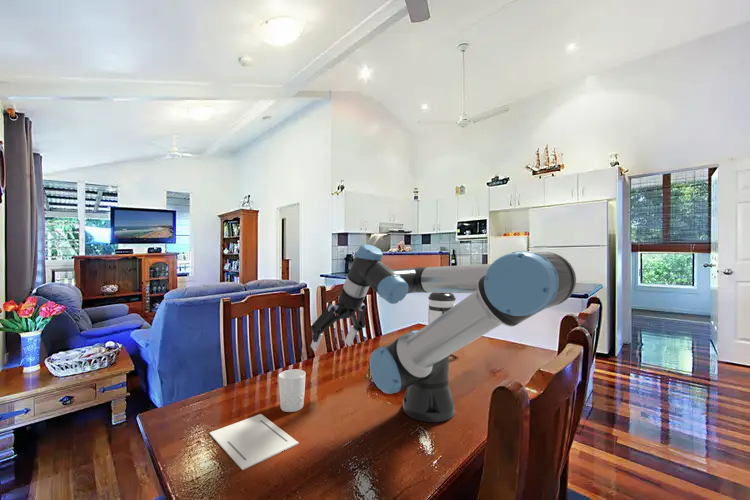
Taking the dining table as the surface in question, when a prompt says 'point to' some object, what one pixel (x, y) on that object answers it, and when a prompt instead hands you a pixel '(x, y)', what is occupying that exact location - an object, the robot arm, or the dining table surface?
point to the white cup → (292, 390)
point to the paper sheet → (252, 440)
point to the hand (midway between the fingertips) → (331, 346)
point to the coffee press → (440, 304)
